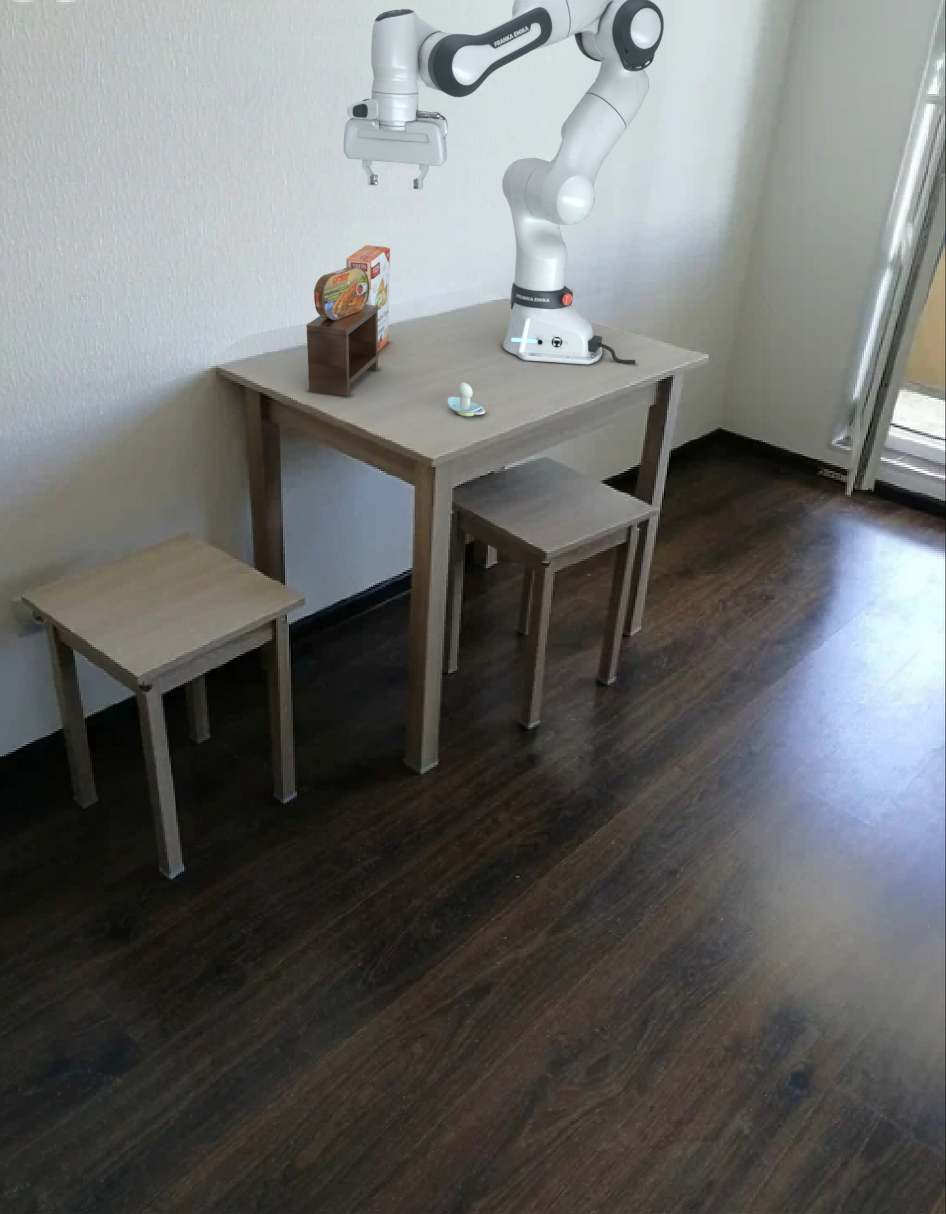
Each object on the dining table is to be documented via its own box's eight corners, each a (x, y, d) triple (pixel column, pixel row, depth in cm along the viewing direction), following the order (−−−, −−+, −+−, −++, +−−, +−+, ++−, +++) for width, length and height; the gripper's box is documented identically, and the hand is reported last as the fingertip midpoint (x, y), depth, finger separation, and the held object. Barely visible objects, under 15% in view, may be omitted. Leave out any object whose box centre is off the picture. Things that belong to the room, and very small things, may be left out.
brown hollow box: (378, 368, 207) (377, 305, 200) (347, 397, 192) (346, 329, 185) (342, 364, 208) (340, 301, 201) (309, 391, 194) (306, 324, 187)
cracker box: (372, 361, 211) (372, 260, 200) (345, 358, 212) (343, 257, 201) (390, 342, 223) (391, 246, 211) (364, 339, 223) (364, 243, 212)
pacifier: (462, 404, 192) (443, 411, 188) (464, 373, 189) (444, 379, 185) (492, 414, 189) (473, 421, 184) (495, 382, 185) (475, 389, 181)
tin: (325, 324, 187) (323, 279, 183) (311, 321, 189) (310, 276, 184) (371, 307, 198) (370, 264, 194) (358, 304, 200) (357, 262, 195)
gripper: (452, 111, 188) (450, 188, 195) (351, 103, 192) (352, 180, 199) (443, 114, 183) (441, 194, 190) (339, 106, 187) (341, 185, 194)
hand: (395, 186), depth 195 cm, fingers open, 8 cm apart
